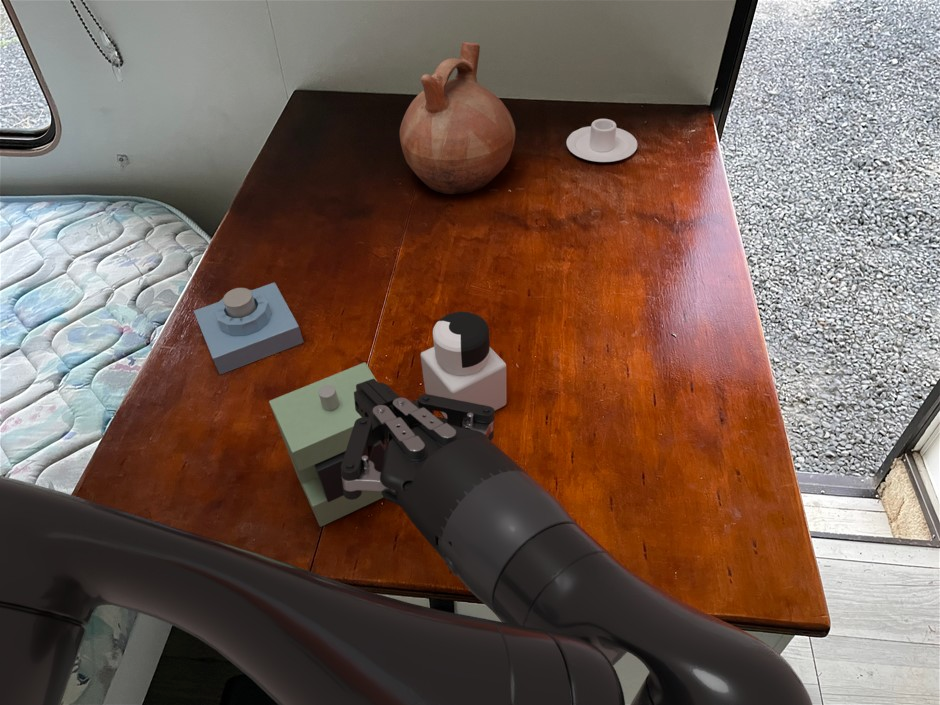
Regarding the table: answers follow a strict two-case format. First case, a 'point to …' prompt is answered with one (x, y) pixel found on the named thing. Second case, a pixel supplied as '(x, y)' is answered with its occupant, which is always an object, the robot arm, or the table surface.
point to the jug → (457, 128)
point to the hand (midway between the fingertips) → (364, 390)
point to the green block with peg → (322, 435)
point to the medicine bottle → (464, 362)
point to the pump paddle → (332, 472)
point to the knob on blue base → (249, 330)
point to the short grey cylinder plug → (239, 302)
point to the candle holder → (602, 142)
